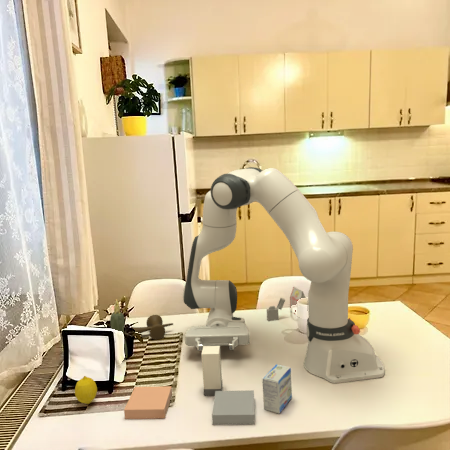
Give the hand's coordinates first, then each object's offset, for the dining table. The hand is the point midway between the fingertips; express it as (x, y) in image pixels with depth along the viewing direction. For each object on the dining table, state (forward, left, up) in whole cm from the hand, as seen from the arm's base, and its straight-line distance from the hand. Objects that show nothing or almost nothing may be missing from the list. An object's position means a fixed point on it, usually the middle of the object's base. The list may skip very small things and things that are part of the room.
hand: (215, 347), depth 123 cm
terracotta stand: (+16, +18, -7) cm, 25 cm away
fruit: (+33, +17, -7) cm, 38 cm away
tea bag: (-29, -40, -7) cm, 50 cm away
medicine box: (-17, +18, -7) cm, 26 cm away
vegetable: (+31, -6, -7) cm, 32 cm away
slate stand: (-6, +21, -7) cm, 23 cm away
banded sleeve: (0, +12, -7) cm, 14 cm away
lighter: (-20, -35, -7) cm, 41 cm away
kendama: (+27, -23, -7) cm, 36 cm away
